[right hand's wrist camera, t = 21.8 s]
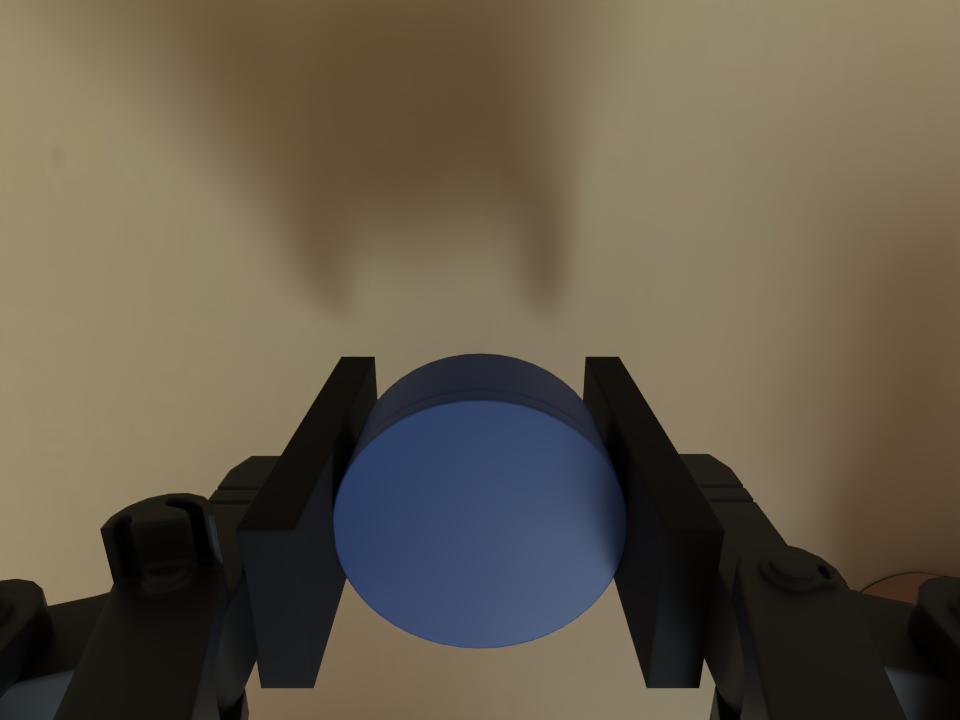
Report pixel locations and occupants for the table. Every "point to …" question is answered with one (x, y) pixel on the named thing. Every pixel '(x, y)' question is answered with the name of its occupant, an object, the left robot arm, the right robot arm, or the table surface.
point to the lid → (480, 504)
